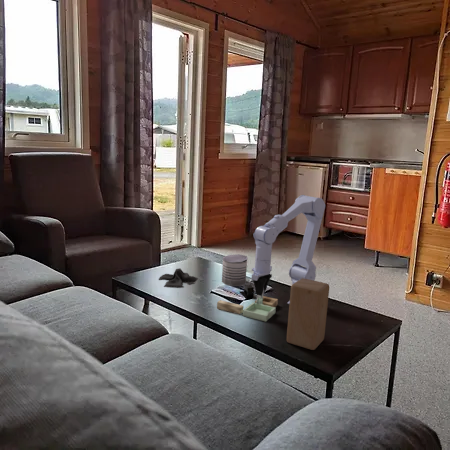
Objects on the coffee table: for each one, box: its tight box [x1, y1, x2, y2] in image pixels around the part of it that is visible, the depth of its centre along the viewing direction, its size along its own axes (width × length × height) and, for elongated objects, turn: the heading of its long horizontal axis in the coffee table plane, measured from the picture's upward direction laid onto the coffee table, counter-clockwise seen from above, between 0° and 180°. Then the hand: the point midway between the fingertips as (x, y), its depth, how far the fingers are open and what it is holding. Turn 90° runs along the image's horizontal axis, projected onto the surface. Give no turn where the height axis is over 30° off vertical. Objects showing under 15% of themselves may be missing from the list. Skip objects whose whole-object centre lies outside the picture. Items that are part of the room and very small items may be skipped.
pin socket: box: [254, 295, 279, 308], centre depth 167 cm, size 7×7×2 cm
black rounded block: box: [239, 284, 257, 301], centre depth 177 cm, size 12×7×5 cm, turn 17°
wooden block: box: [286, 278, 330, 351], centre depth 136 cm, size 10×10×20 cm
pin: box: [255, 289, 265, 305], centre depth 157 cm, size 2×2×8 cm
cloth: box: [157, 268, 199, 289], centre depth 192 cm, size 22×19×6 cm
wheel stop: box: [216, 299, 244, 315], centre depth 160 cm, size 10×2×3 cm, turn 63°
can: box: [221, 253, 248, 287], centre depth 192 cm, size 11×11×12 cm
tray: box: [242, 301, 277, 322], centre depth 158 cm, size 9×9×2 cm
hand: (260, 293), depth 157 cm, fingers closed on pin, 2 cm apart
